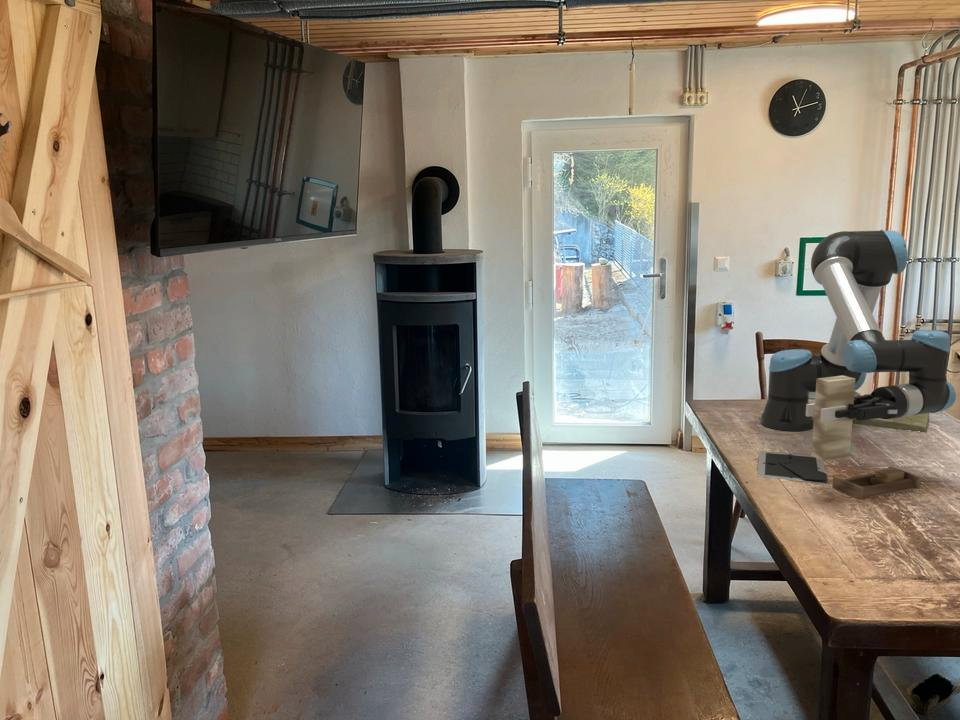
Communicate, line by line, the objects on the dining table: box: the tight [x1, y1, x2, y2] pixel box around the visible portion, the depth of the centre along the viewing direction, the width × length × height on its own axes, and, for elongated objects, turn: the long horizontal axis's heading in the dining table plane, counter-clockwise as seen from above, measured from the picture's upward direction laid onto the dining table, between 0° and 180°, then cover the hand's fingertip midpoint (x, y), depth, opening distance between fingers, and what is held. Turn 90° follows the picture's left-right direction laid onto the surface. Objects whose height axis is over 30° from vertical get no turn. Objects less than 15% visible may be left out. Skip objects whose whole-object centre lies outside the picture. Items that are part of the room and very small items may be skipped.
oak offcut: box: [874, 468, 904, 483], centre depth 169 cm, size 4×5×4 cm
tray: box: [831, 465, 921, 501], centre depth 168 cm, size 8×18×4 cm, turn 109°
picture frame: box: [757, 450, 828, 485], centre depth 184 cm, size 16×3×21 cm
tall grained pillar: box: [811, 376, 856, 462], centre depth 159 cm, size 4×8×18 cm, turn 109°
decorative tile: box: [852, 413, 930, 433], centre depth 224 cm, size 19×20×4 cm
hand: (814, 412), depth 157 cm, fingers closed on tall grained pillar, 3 cm apart
